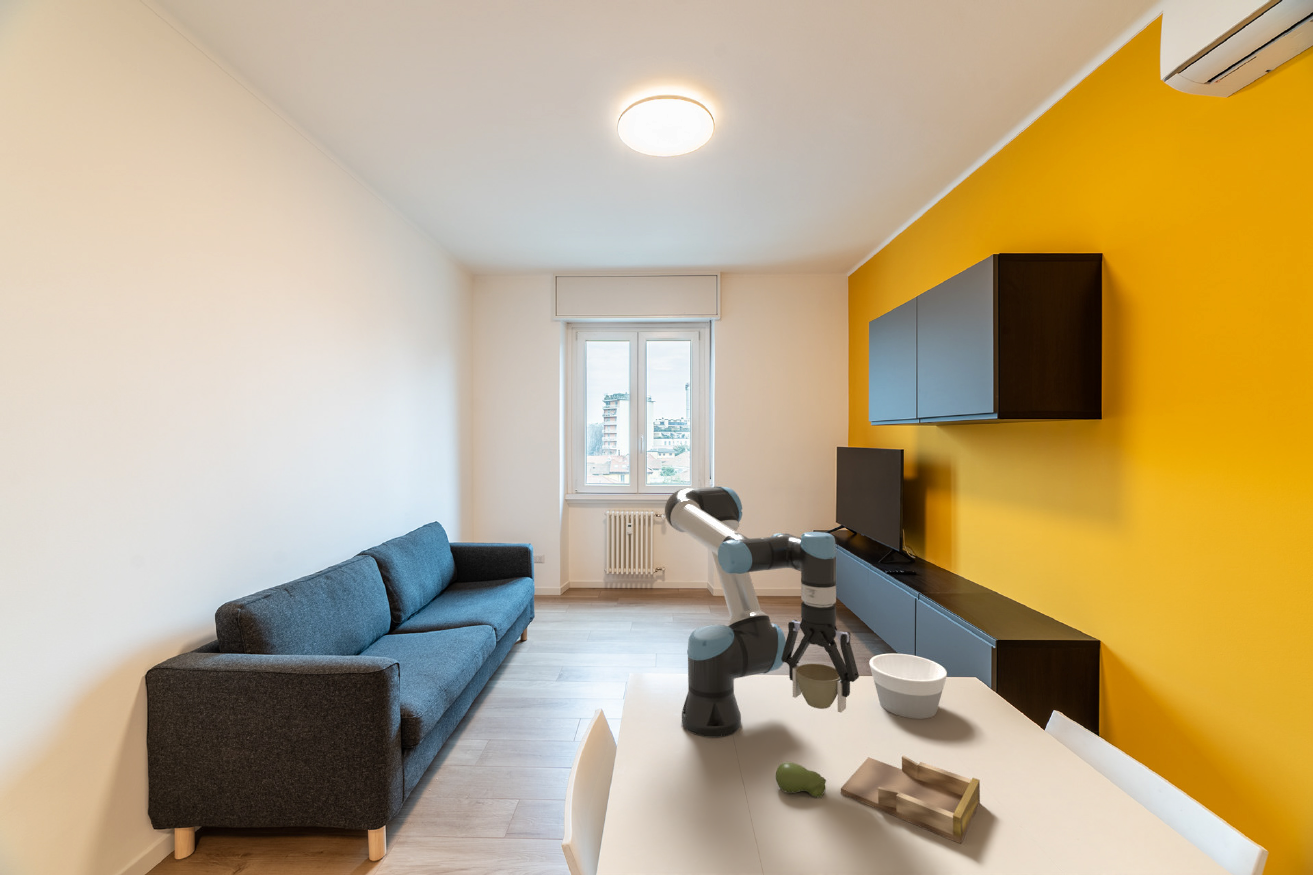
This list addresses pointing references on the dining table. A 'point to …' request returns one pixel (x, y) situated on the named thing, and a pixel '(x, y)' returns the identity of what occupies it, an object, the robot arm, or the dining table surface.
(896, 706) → the bowl
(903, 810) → the slot board
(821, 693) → the flower pot
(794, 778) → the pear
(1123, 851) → the dining table surface
